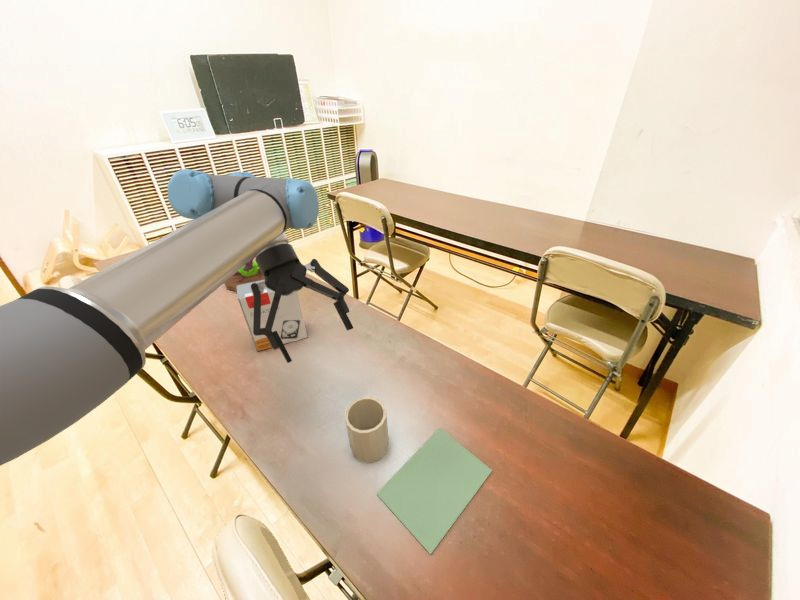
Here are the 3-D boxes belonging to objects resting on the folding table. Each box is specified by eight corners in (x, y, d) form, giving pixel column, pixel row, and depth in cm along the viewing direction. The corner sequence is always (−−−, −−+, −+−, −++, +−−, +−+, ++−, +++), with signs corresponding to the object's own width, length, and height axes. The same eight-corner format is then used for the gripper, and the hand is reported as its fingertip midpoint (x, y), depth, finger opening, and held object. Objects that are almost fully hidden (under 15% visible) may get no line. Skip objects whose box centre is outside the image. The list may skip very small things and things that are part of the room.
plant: (218, 278, 131) (208, 254, 125) (264, 261, 142) (257, 238, 135) (236, 299, 119) (226, 273, 113) (285, 279, 130) (278, 254, 123)
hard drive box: (256, 352, 97) (235, 299, 85) (255, 337, 102) (235, 284, 90) (308, 337, 102) (295, 285, 90) (304, 323, 107) (291, 272, 95)
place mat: (430, 555, 56) (430, 554, 56) (376, 494, 64) (376, 493, 64) (492, 471, 67) (492, 470, 67) (439, 428, 75) (440, 427, 75)
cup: (367, 471, 68) (363, 441, 61) (343, 444, 73) (336, 414, 66) (395, 443, 73) (394, 413, 66) (371, 420, 77) (367, 390, 71)
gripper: (324, 235, 73) (367, 319, 74) (209, 279, 62) (260, 375, 63) (332, 223, 66) (378, 315, 67) (203, 269, 55) (261, 378, 56)
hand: (321, 344), depth 65 cm, fingers open, 13 cm apart
